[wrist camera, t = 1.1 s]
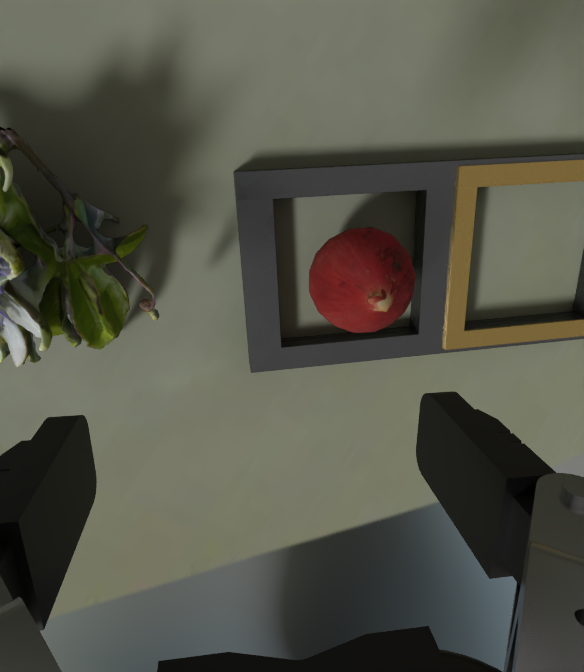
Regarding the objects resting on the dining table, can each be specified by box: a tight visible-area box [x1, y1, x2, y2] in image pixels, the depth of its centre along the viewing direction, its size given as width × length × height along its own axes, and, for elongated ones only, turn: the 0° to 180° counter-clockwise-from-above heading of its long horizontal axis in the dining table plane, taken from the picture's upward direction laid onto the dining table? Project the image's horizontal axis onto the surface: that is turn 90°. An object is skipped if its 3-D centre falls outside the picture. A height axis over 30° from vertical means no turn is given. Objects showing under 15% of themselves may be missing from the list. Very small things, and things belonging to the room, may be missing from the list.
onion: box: [309, 227, 416, 333], centre depth 26 cm, size 6×6×8 cm
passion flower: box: [0, 127, 159, 367], centre depth 24 cm, size 11×11×12 cm
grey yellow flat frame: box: [234, 153, 584, 373], centre depth 30 cm, size 12×25×2 cm, turn 93°
